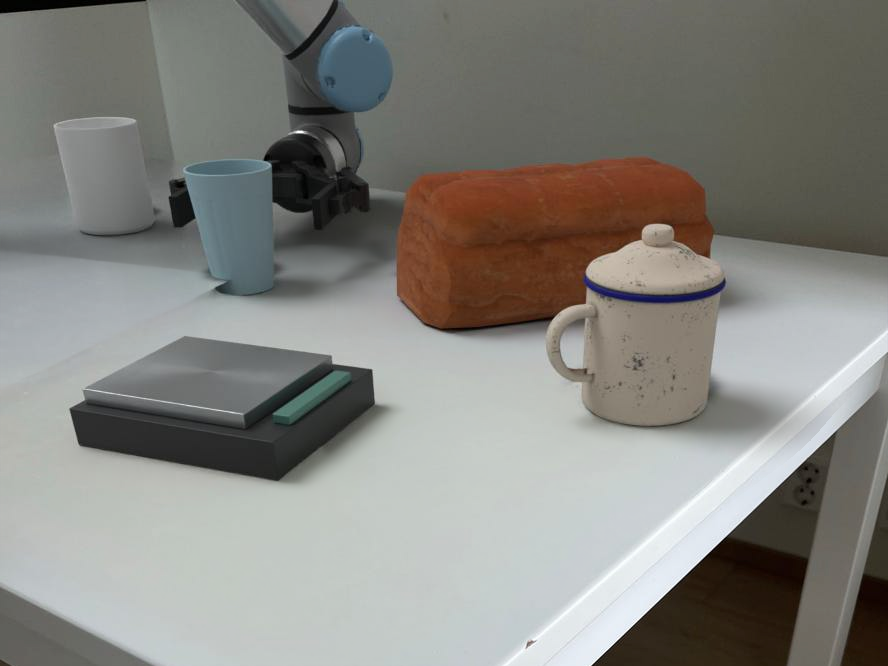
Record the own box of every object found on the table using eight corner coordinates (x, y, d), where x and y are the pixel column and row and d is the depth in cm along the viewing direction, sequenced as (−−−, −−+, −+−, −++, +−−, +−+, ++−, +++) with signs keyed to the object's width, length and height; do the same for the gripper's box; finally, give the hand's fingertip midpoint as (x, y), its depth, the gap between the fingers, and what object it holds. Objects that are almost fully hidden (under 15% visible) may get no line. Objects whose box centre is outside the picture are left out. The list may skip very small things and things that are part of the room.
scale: (78, 444, 65) (64, 393, 63) (195, 377, 75) (187, 330, 73) (278, 480, 60) (270, 426, 58) (375, 403, 70) (371, 354, 68)
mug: (159, 210, 121) (141, 111, 115) (153, 233, 111) (133, 126, 105) (85, 214, 119) (63, 114, 113) (73, 238, 110) (47, 130, 104)
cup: (267, 301, 90) (251, 175, 84) (189, 297, 91) (167, 173, 85) (297, 278, 96) (284, 159, 90) (223, 274, 97) (205, 158, 92)
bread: (725, 303, 88) (742, 172, 82) (437, 340, 81) (432, 200, 75) (643, 260, 100) (652, 143, 94) (386, 288, 93) (378, 164, 87)
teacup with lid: (667, 372, 74) (684, 205, 68) (735, 417, 67) (761, 235, 61) (519, 396, 71) (521, 222, 64) (574, 445, 64) (583, 256, 57)
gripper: (417, 207, 111) (379, 257, 94) (200, 204, 113) (125, 252, 96) (414, 132, 107) (374, 170, 89) (188, 131, 109) (107, 168, 92)
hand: (245, 213), depth 93 cm, fingers open, 13 cm apart
